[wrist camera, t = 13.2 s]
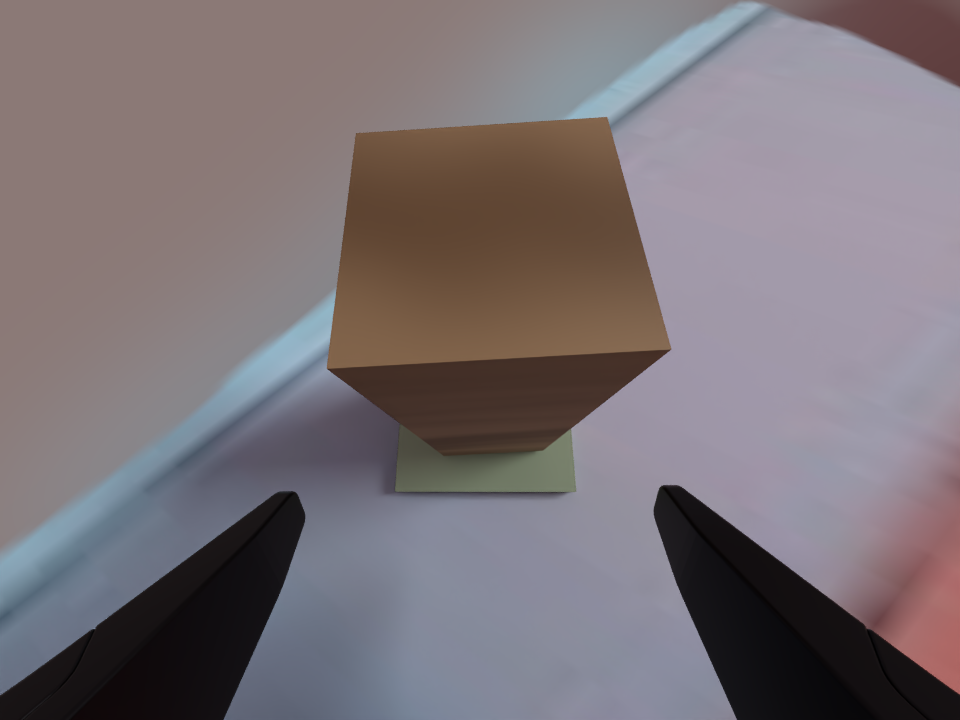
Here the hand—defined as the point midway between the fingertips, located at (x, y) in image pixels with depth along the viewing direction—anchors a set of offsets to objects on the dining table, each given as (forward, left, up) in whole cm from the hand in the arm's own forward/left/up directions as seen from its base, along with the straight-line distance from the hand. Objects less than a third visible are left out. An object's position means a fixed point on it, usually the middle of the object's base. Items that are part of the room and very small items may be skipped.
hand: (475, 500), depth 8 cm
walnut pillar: (+2, -3, -9) cm, 10 cm away
